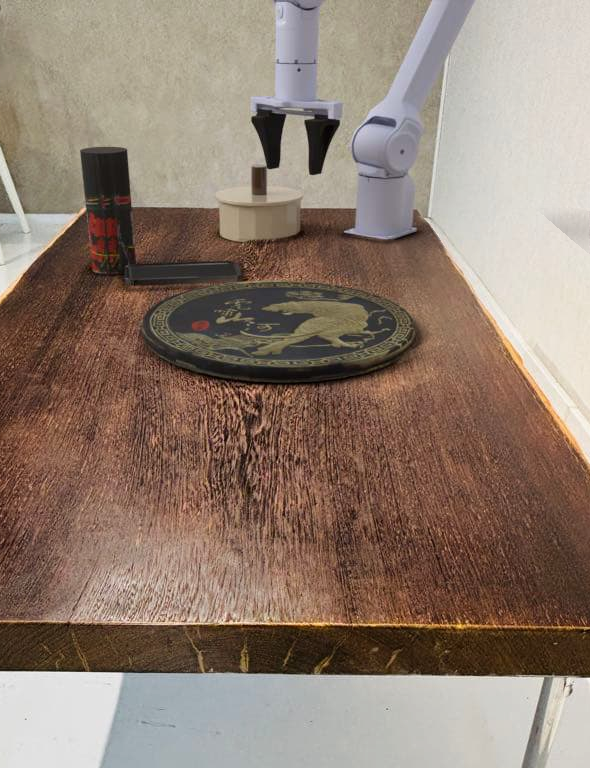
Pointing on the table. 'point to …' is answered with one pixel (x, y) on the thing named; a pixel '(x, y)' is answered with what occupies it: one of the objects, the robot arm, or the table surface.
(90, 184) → the deodorant
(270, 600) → the table surface
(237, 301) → the decorative plate
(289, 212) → the container
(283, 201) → the cover
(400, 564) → the table surface
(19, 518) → the table surface
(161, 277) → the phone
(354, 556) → the table surface
